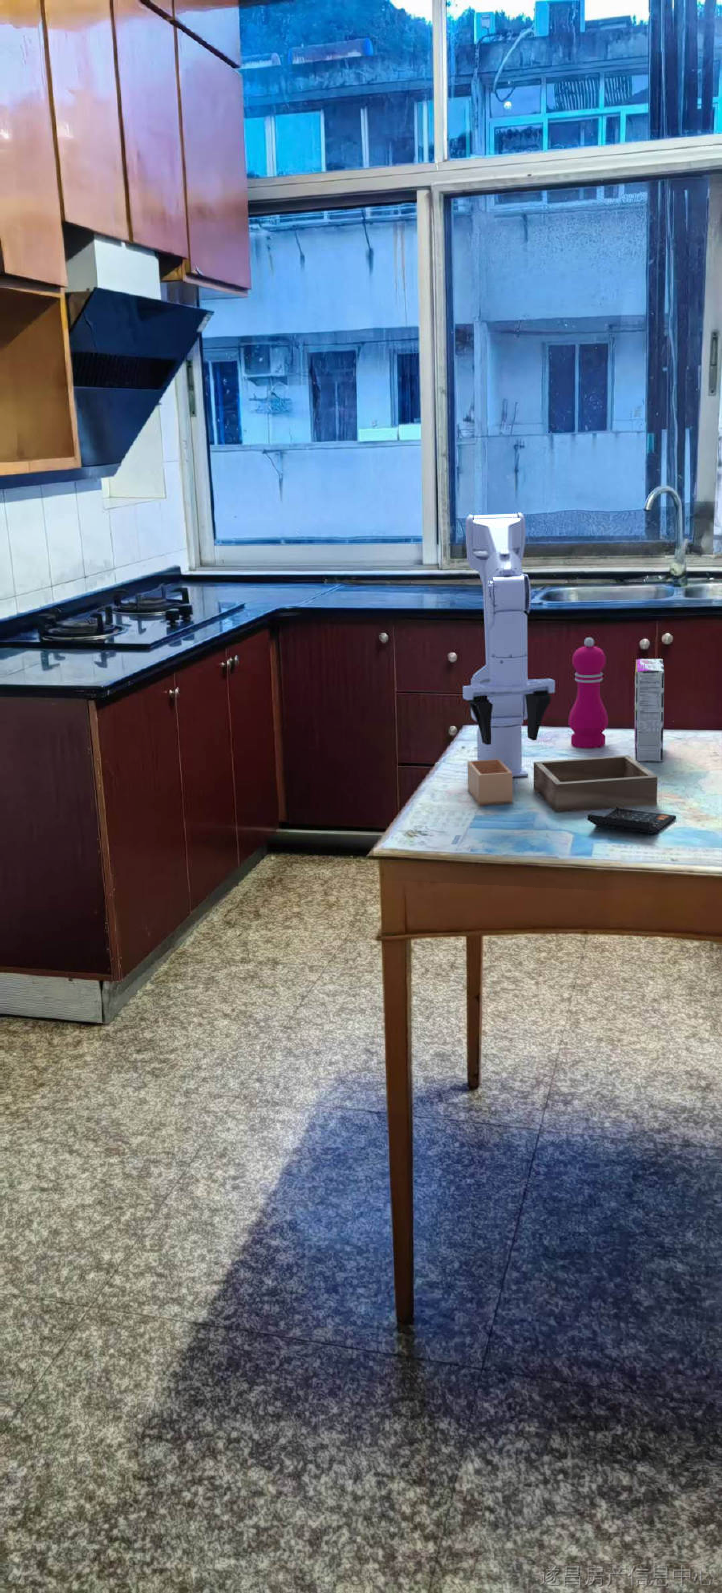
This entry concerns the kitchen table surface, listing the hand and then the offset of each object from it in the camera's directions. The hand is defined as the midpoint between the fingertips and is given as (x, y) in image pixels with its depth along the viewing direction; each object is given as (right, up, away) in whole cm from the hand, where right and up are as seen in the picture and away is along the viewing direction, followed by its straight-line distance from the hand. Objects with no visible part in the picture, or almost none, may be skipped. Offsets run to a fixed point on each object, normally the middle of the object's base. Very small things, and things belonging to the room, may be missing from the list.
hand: (509, 741), depth 198 cm
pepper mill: (+19, +1, +36) cm, 41 cm away
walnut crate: (+14, -9, +4) cm, 17 cm away
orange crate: (-2, -9, +6) cm, 11 cm away
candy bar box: (+28, -1, +28) cm, 39 cm away
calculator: (+17, -13, -11) cm, 24 cm away
